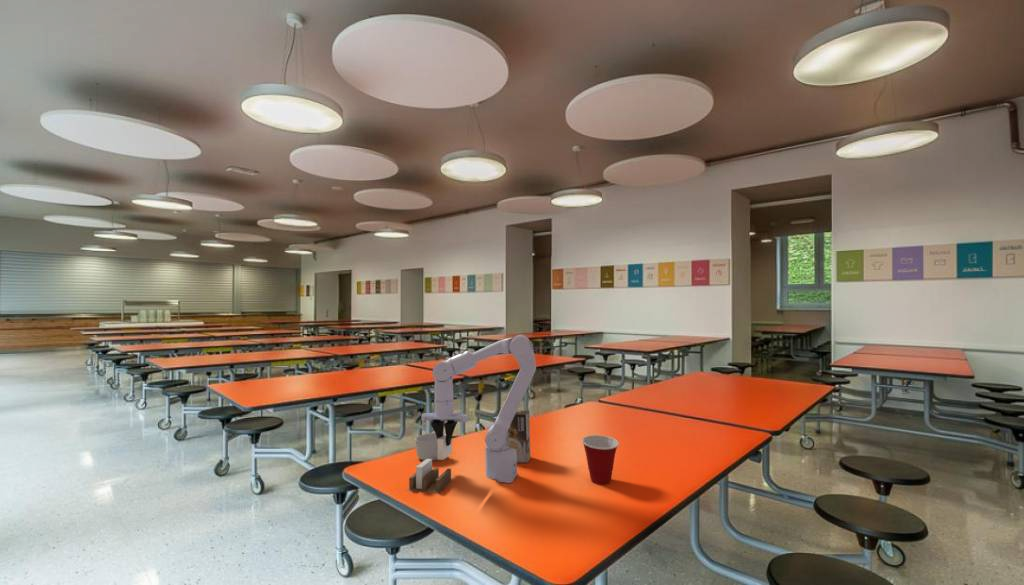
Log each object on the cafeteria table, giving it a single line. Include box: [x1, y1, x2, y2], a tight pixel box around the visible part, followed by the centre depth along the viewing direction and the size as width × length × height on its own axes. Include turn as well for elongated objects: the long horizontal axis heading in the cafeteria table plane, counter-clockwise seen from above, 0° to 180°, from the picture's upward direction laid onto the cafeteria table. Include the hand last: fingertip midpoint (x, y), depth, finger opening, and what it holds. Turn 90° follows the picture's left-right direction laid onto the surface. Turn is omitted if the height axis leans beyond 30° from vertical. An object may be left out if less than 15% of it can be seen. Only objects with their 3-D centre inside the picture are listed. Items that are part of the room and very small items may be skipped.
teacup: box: [414, 431, 446, 462], centre depth 150 cm, size 14×11×8 cm
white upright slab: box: [437, 433, 453, 461], centre depth 133 cm, size 2×7×6 cm, turn 166°
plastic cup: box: [581, 434, 620, 485], centre depth 127 cm, size 11×11×12 cm
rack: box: [405, 467, 454, 494], centre depth 125 cm, size 10×11×4 cm
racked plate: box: [415, 459, 433, 489], centre depth 125 cm, size 2×7×6 cm, turn 166°
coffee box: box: [506, 409, 532, 464], centre depth 148 cm, size 9×6×16 cm
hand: (444, 444), depth 132 cm, fingers closed on white upright slab, 2 cm apart
